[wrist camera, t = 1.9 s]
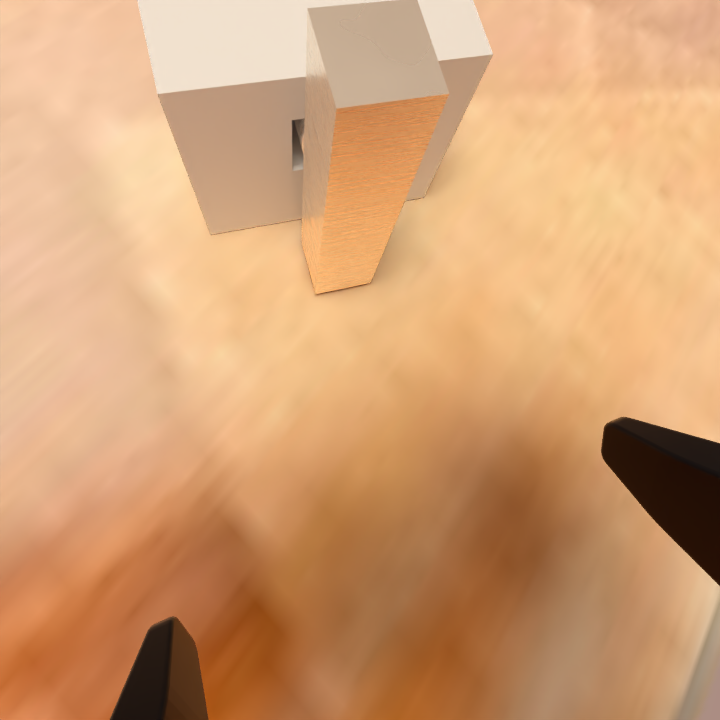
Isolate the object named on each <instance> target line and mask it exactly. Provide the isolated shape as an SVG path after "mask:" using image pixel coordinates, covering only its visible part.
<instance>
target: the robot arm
mask: <svg viewBox="0 0 720 720" xmlns="http://www.w3.org/2000/svg"><path fill="white" fill-rule="evenodd" d="M601 453H602V457H603V459H604V461H605V462H606V464H607V465H608V466H609V467H610V468H611V470H612V471H613V472H614V473H615V474H616V476H617V477H618V478H619V479H620V480H621V482H622V483H623V484H624V485H625V486H626V488H627V489H628V490H629V491H630V492H631V493H632V495H633V496H634V497H635V498H636V499H637V501H638V502H639V503H640V504H641V505H642V507H643V508H644V509H645V510H646V511H647V513H648V514H649V515H650V516H651V517H652V518H653V519H654V520H655V522H656V523H657V524H658V525H659V526H660V527H661V528H662V529H663V530H664V531H665V532H666V533H667V534H668V535H669V536H670V537H671V538H672V539H673V540H674V541H675V542H676V543H677V544H678V545H679V546H680V547H681V548H682V549H683V550H684V551H685V552H686V553H687V554H688V555H689V556H690V557H691V558H692V559H693V560H694V561H695V562H696V563H697V564H698V565H699V566H700V567H701V568H702V569H703V570H704V571H705V572H706V573H707V574H708V575H709V576H710V577H711V578H712V579H713V580H714V581H715V582H716V583H717V584H718V585H719V586H720V443H717V442H713V441H710V440H706V439H703V438H699V437H695V436H692V435H688V434H685V433H681V432H678V431H674V430H671V429H667V428H664V427H660V426H656V425H653V424H649V423H646V422H642V421H639V420H635V419H632V418H628V417H620V418H618V419H615V420H613V421H611V422H609V423H607V424H606V425H605V427H604V431H603V439H602V447H601ZM110 720H208V714H207V708H206V702H205V696H204V689H203V683H202V677H201V671H200V665H199V658H198V652H197V648H196V645H195V642H194V640H193V638H192V637H191V635H190V634H189V633H188V631H187V630H186V629H185V627H184V626H183V625H182V623H181V622H180V621H179V619H178V618H177V617H174V616H172V617H169V618H167V619H165V620H162V621H160V622H158V623H156V624H154V625H152V626H151V627H150V628H149V630H148V632H147V634H146V636H145V638H144V641H143V643H142V645H141V648H140V650H139V653H138V655H137V657H136V660H135V662H134V664H133V667H132V669H131V671H130V674H129V676H128V678H127V681H126V683H125V685H124V688H123V690H122V692H121V695H120V697H119V699H118V702H117V704H116V706H115V709H114V711H113V713H112V716H111V718H110Z"/></svg>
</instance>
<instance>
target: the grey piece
mask: <svg viewBox="0 0 720 720" xmlns="http://www.w3.org/2000/svg"><path fill="white" fill-rule="evenodd" d="M448 96H449V91H448V88H447V85H446V82H445V79H444V76H443V73H442V70H441V68H440V65H439V62H438V59H437V56H436V53H435V50H434V47H433V44H432V41H431V38H430V35H429V32H428V30H427V27H426V24H425V21H424V18H423V15H422V12H421V9H420V6H419V3H418V0H392V1H381V2H370V3H359V4H348V5H337V6H326V7H315V8H307V40H306V80H305V118H304V119H296V120H294V122H295V125H296V129H297V133H298V136H299V140H300V144H301V148H302V151H303V155H304V162H303V203H302V245H303V249H304V253H305V257H306V261H307V265H308V268H309V272H310V276H311V280H312V284H313V288H314V291H315V294H319V293H324V292H329V291H334V290H338V289H343V288H348V287H353V286H358V285H363V284H368V283H371V281H372V278H373V276H374V273H375V271H376V269H377V266H378V264H379V261H380V259H381V257H382V254H383V252H384V249H385V247H386V245H387V242H388V240H389V237H390V235H391V233H392V230H393V228H394V225H395V223H396V221H397V218H398V216H399V213H400V211H401V209H402V206H403V204H404V201H405V199H406V197H407V194H408V192H409V189H410V187H411V185H412V182H413V180H414V177H415V175H416V173H417V170H418V168H419V165H420V163H421V161H422V158H423V156H424V153H425V151H426V149H427V146H428V144H429V141H430V139H431V137H432V134H433V132H434V129H435V127H436V125H437V122H438V120H439V117H440V115H441V113H442V110H443V108H444V105H445V103H446V101H447V98H448Z"/></svg>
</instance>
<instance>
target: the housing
mask: <svg viewBox="0 0 720 720" xmlns="http://www.w3.org/2000/svg"><path fill="white" fill-rule="evenodd" d="M137 1H138V6H139V10H140V15H141V19H142V24H143V29H144V33H145V38H146V43H147V47H148V52H149V57H150V61H151V66H152V71H153V75H154V80H155V85H156V89H157V94H158V97H159V99H160V102H161V105H162V107H163V110H164V113H165V115H166V118H167V121H168V123H169V126H170V128H171V131H172V134H173V136H174V139H175V142H176V144H177V147H178V150H179V152H180V155H181V158H182V160H183V163H184V166H185V168H186V171H187V173H188V176H189V179H190V181H191V184H192V187H193V189H194V192H195V195H196V197H197V200H198V203H199V205H200V208H201V211H202V213H203V216H204V219H205V221H206V224H207V226H208V229H209V232H210V234H211V235H212V234H218V233H224V232H229V231H235V230H241V229H246V228H252V227H258V226H264V225H269V224H275V223H281V222H286V221H292V220H298V219H302V203H303V162H304V155H303V151H302V148H301V144H300V140H299V136H298V133H297V129H296V125H295V122H294V120H296V119H304V118H305V80H306V40H307V8H315V7H326V6H337V5H348V4H359V3H370V2H381V1H392V0H137ZM418 3H419V6H420V9H421V12H422V15H423V18H424V21H425V24H426V27H427V30H428V32H429V35H430V38H431V41H432V44H433V47H434V50H435V53H436V56H437V59H438V62H439V65H440V68H441V70H442V73H443V76H444V79H445V82H446V85H447V88H448V91H449V96H448V98H447V101H446V103H445V105H444V108H443V110H442V113H441V115H440V117H439V120H438V122H437V125H436V127H435V129H434V132H433V134H432V137H431V139H430V141H429V144H428V146H427V149H426V151H425V153H424V156H423V158H422V161H421V163H420V165H419V168H418V170H417V173H416V175H415V177H414V180H413V182H412V185H411V187H410V189H409V192H408V194H407V197H406V199H405V201H406V200H412V199H418V198H424V196H425V194H426V192H427V190H428V188H429V186H430V184H431V182H432V180H433V177H434V175H435V173H436V171H437V169H438V167H439V165H440V163H441V161H442V159H443V157H444V155H445V153H446V151H447V149H448V146H449V144H450V142H451V140H452V138H453V136H454V134H455V132H456V130H457V128H458V126H459V124H460V122H461V120H462V118H463V115H464V113H465V111H466V109H467V107H468V105H469V103H470V101H471V99H472V97H473V95H474V93H475V91H476V89H477V86H478V84H479V82H480V80H481V78H482V76H483V74H484V72H485V70H486V68H487V66H488V64H489V62H490V60H491V58H492V55H493V53H492V50H491V47H490V45H489V42H488V39H487V37H486V34H485V31H484V28H483V26H482V23H481V20H480V18H479V15H478V12H477V9H476V7H475V4H474V1H473V0H418Z"/></svg>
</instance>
